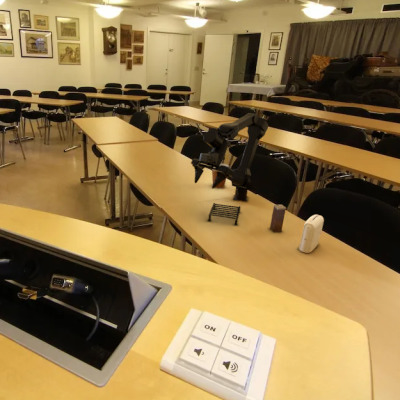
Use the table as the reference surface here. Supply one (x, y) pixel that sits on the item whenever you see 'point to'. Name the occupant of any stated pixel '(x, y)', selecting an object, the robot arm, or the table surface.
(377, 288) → the table surface
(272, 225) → the hanger post
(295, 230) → the table surface
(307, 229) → the photo printer
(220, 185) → the disposable coffee cup
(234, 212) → the wire rack
